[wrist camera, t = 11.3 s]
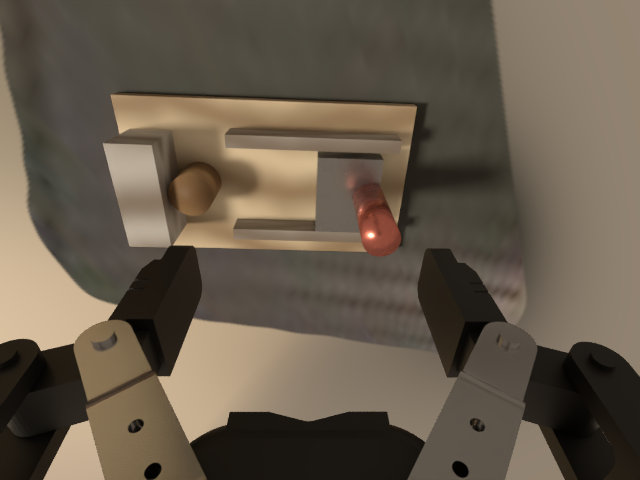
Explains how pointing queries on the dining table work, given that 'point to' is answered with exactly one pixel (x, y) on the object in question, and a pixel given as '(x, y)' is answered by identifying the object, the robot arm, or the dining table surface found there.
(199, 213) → the nut
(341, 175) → the plate with copper rod
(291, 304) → the dining table surface
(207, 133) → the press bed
